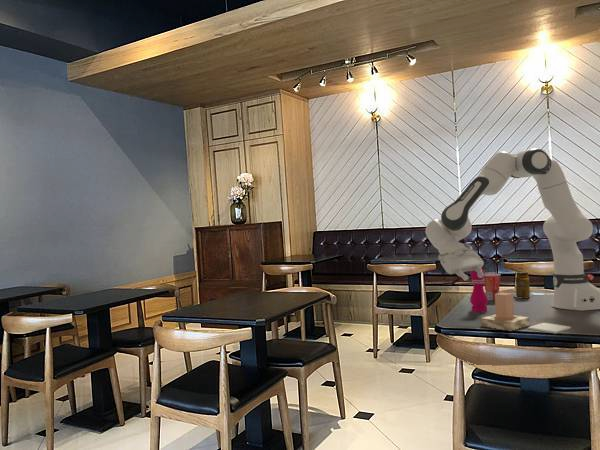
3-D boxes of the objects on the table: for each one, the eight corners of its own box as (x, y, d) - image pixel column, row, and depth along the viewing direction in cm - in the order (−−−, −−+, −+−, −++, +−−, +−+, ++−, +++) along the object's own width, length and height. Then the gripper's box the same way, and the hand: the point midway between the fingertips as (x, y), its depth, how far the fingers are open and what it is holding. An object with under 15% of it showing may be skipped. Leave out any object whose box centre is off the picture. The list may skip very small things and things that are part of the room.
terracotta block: (503, 323, 187) (501, 292, 187) (514, 325, 183) (512, 293, 183) (496, 325, 184) (494, 293, 184) (507, 327, 181) (505, 295, 180)
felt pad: (543, 324, 183) (543, 322, 183) (570, 328, 175) (570, 326, 175) (528, 328, 177) (528, 327, 177) (555, 333, 169) (555, 331, 169)
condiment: (533, 296, 238) (532, 271, 238) (526, 299, 232) (525, 273, 232) (518, 295, 243) (516, 271, 243) (510, 298, 237) (509, 273, 237)
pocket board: (500, 320, 192) (500, 313, 192) (529, 325, 182) (529, 317, 182) (481, 326, 185) (481, 318, 185) (510, 331, 175) (510, 322, 175)
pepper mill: (489, 312, 208) (487, 265, 208) (471, 312, 210) (469, 265, 210) (486, 308, 216) (484, 263, 215) (469, 309, 217) (467, 263, 217)
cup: (500, 297, 240) (499, 272, 240) (503, 300, 232) (502, 275, 231) (480, 297, 242) (479, 273, 242) (482, 301, 234) (481, 275, 233)
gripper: (440, 249, 194) (462, 275, 186) (473, 245, 205) (495, 270, 197) (432, 260, 198) (453, 286, 190) (464, 255, 209) (485, 280, 201)
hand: (474, 278), depth 194 cm, fingers open, 8 cm apart
